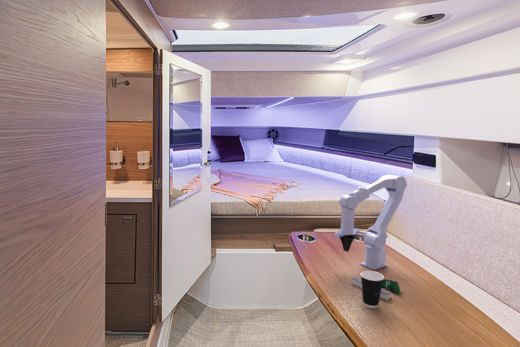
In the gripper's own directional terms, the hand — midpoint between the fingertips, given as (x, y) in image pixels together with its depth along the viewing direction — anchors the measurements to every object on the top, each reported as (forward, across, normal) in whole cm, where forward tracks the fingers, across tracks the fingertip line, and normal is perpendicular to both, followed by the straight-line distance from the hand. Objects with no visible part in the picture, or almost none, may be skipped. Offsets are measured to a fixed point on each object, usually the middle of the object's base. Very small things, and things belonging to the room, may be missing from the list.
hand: (346, 250), depth 144 cm
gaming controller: (+9, -2, -23) cm, 25 cm away
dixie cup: (+9, -17, -27) cm, 33 cm away
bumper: (+8, -8, -20) cm, 23 cm away
